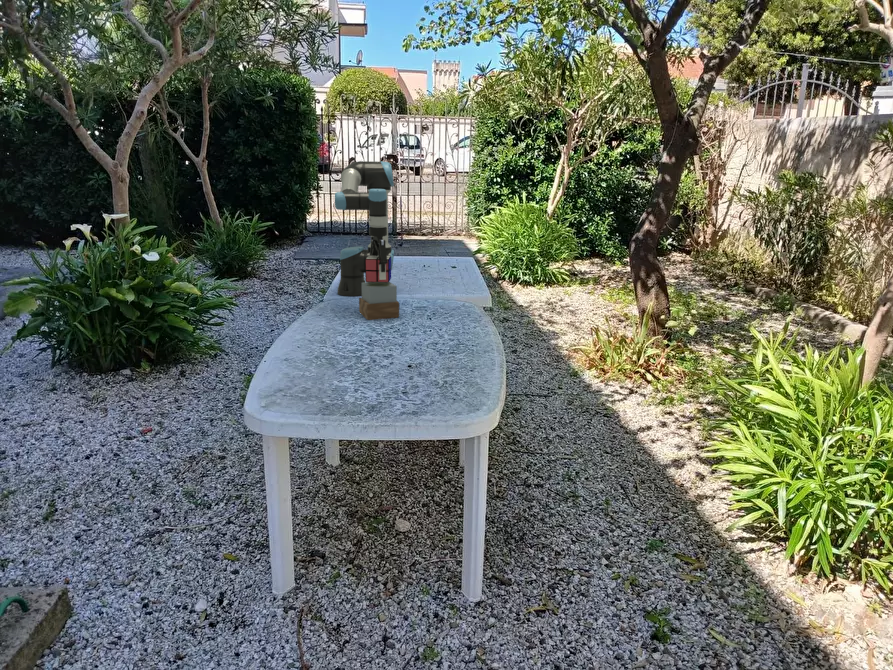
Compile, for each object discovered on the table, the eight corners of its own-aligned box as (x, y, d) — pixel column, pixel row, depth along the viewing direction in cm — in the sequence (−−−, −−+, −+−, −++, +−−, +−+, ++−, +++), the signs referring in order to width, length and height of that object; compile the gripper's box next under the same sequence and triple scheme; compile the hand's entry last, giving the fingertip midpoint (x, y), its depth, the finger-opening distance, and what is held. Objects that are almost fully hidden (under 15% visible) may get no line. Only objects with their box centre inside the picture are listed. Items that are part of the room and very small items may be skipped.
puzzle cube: (389, 282, 269) (388, 259, 266) (365, 282, 269) (365, 258, 266) (391, 278, 278) (391, 255, 276) (368, 278, 278) (368, 255, 276)
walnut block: (359, 313, 281) (359, 297, 279) (389, 311, 286) (389, 296, 284) (367, 320, 269) (367, 304, 267) (399, 318, 274) (399, 302, 272)
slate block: (361, 298, 279) (361, 282, 277) (387, 296, 283) (387, 281, 281) (369, 303, 268) (369, 287, 266) (396, 301, 273) (396, 285, 271)
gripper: (362, 223, 277) (362, 272, 283) (377, 229, 255) (377, 282, 261) (378, 223, 280) (379, 271, 285) (394, 229, 258) (395, 281, 264)
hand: (378, 277), depth 273 cm, fingers closed on puzzle cube, 12 cm apart
